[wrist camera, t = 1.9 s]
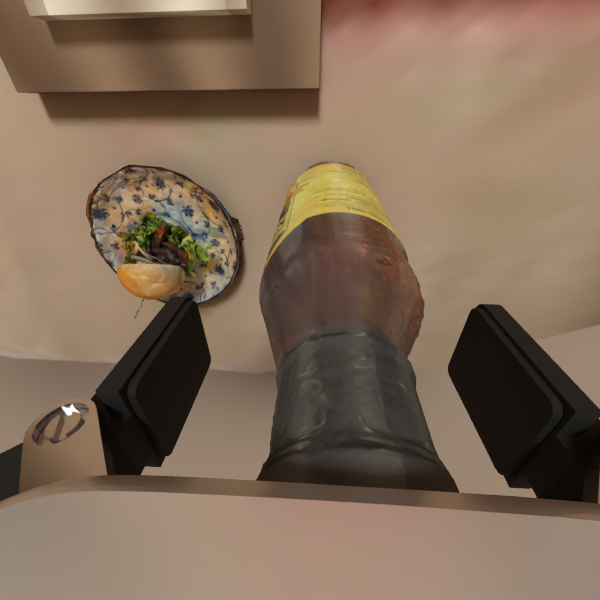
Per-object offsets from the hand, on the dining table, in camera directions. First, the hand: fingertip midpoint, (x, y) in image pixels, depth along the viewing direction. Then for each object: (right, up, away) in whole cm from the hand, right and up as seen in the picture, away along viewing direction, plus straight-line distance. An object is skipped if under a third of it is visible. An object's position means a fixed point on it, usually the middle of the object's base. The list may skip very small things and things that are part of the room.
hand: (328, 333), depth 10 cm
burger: (-11, +7, +14) cm, 19 cm away
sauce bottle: (+1, +8, +11) cm, 14 cm away
